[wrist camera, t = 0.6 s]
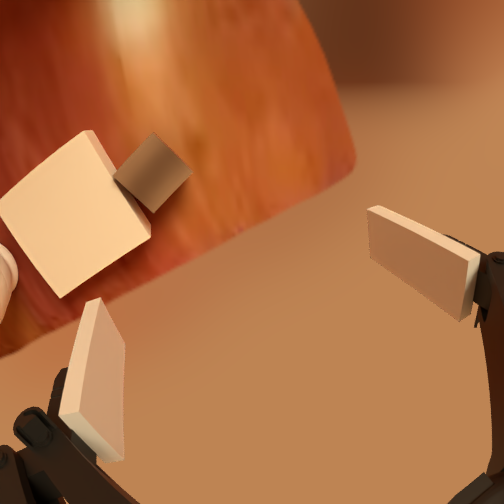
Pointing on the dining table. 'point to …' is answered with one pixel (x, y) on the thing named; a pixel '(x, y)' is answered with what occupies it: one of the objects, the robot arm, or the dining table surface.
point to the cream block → (74, 214)
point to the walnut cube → (153, 172)
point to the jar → (6, 278)
